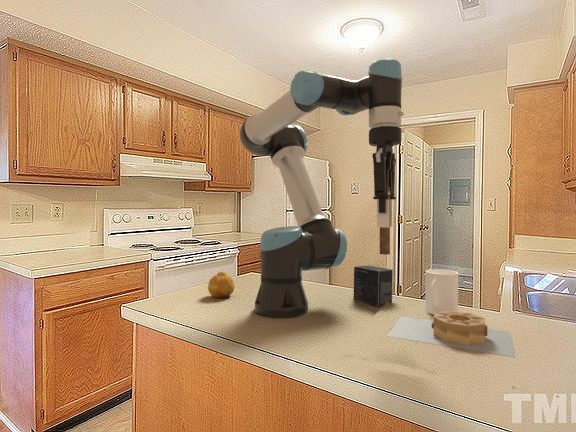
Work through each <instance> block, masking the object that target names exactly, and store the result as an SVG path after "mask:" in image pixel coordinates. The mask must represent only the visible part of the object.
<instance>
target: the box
mask: <svg viewBox="0 0 576 432" xmlns="http://www.w3.org/2000/svg"><path fill="white" fill-rule="evenodd" d="M352 297H353V300H356V301H357V302H358V301H359V302H361V303H365V304H368V305H369V304H370V305H371V306H372V305H373V306H377V307H382V306H385V305H386V304H388V303H389V304H390V303H391V304H392V303H393V268H392V269H391V268H385V267H380V266H374V265H369V264H368V265H358V266H354V267H353V296H352Z"/></svg>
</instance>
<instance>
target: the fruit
mask: <svg viewBox="0 0 576 432" xmlns="http://www.w3.org/2000/svg"><path fill="white" fill-rule="evenodd" d="M207 290H208V292H209V294H210V296H212V297H214V298H218V299H223V298H224V297H225V298H228V297H230V296H231V295H232V294H233V293H234V290H235V283H234V280H233V279H232V277H231V276H230V275H228V274H227V273H226V272H224V271H220V272H217V274H216V275H213V276H212V277H211V278H210V280H209V281H208V285H207Z"/></svg>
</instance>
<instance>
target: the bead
mask: <svg viewBox="0 0 576 432" xmlns="http://www.w3.org/2000/svg"><path fill="white" fill-rule="evenodd" d="M432 321H433V322H432V328H433V329H434V336H436V337H438V338H440V339H442V340H444V341H446V342H451V343H458V344H464V345H474V344H481V343H485V336H487V328H488V325H486V318H485V317H482V316H479V315H477V314H474V313H472V312H465V311H464V312H463V311H459V310H458V311H443V312H436V313H435V315H433V320H432Z"/></svg>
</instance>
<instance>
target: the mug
mask: <svg viewBox="0 0 576 432" xmlns="http://www.w3.org/2000/svg"><path fill="white" fill-rule="evenodd" d="M424 297H425V300H424V301H425V304H424V305H425V307H424V311H425V312H426V313H428V314H429V315H433V316H434V315H435V313H436V312H443V311H458V312H459V272H458V271H456V270H451V269H442V268H429V269H426V270H425V296H424Z"/></svg>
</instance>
